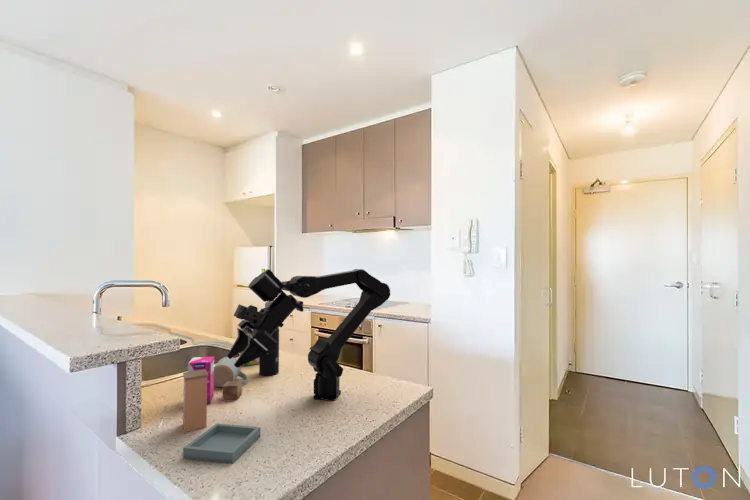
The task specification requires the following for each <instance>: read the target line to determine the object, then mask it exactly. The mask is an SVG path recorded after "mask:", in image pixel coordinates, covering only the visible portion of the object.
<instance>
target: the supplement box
mask: <svg viewBox="0 0 750 500" xmlns="http://www.w3.org/2000/svg"><path fill="white" fill-rule="evenodd" d="M214 366H215V356H214V355H213V356H200V357H199V356H196V357H192V358H191V359H190V361H189V362H188V363H187V372H190V371H197V370H204V369H205V370H206V371H207V373H208V377H207V405H210V404H211V401H212V400H213V398H214V391H215V389H214V387H215V386H214Z"/></svg>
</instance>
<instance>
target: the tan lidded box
mask: <svg viewBox="0 0 750 500" xmlns="http://www.w3.org/2000/svg"><path fill="white" fill-rule="evenodd" d="M182 375H183V400H182V402H183V403H182V406H183V407H182V409H183V410H182V412H183V413H182V425H183V426H182V427H183V430H184V433H185V432H190V431H194V430H198V429H203V428H206V427H207V423H208V421H207V413H208V407H207V406H208V404H207V377H208V373H207V371H206V370H205V369H204V370H197V371H190V372H188V371H184V372H182Z"/></svg>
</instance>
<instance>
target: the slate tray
mask: <svg viewBox="0 0 750 500" xmlns="http://www.w3.org/2000/svg"><path fill="white" fill-rule="evenodd" d="M261 432H262V431H261V427H260V426H252V425H251V426H249V425H238V424H227V423H218V422H217V423H215V424H214V425H212V426H211V427H210V428H208V429H207V430H206V431H204V432H203V433H201V434H200V435H199V436H197V437H196V438H195V439H193V440H192V441H191V442H189V443H188V444H186V445H185V446H184V447H183V448H182V449H183V450H182V451H183V452H182V454H183V455H182V459H187V460H188V459H189V460H197V461H203V462H205V461H206V462H215V463H221V464H222V463H223V464H231V465H232V464H234V463H235V462H236V461H237V460H238V459H239V458H241V456H242V455H243V454H245V452H246V451H248V449H250V448H251V447H252V445H254V444H255V442H256V441H258V440H259V439H260V438H261Z"/></svg>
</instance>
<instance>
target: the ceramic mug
mask: <svg viewBox="0 0 750 500" xmlns="http://www.w3.org/2000/svg"><path fill="white" fill-rule="evenodd" d="M237 359H238V358H236V357H235V356H234V357H232V358H231V359H229V358H228V357H227V356H224V357H222V358H221V359H219V360H218V362H216V364H214V387H217V388H223V385H224V384H225V383H226V382H227V381H242V386H244V385H246V384H247V382H248V381H249V376H248V375H247V374H245V373H244V372H242V371H241V370H242V366H240V367H238V368H237V367H235V366H234V364H235V362H236V361H237ZM238 377H240V378H241V379H238ZM242 379H243V380H242Z"/></svg>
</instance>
